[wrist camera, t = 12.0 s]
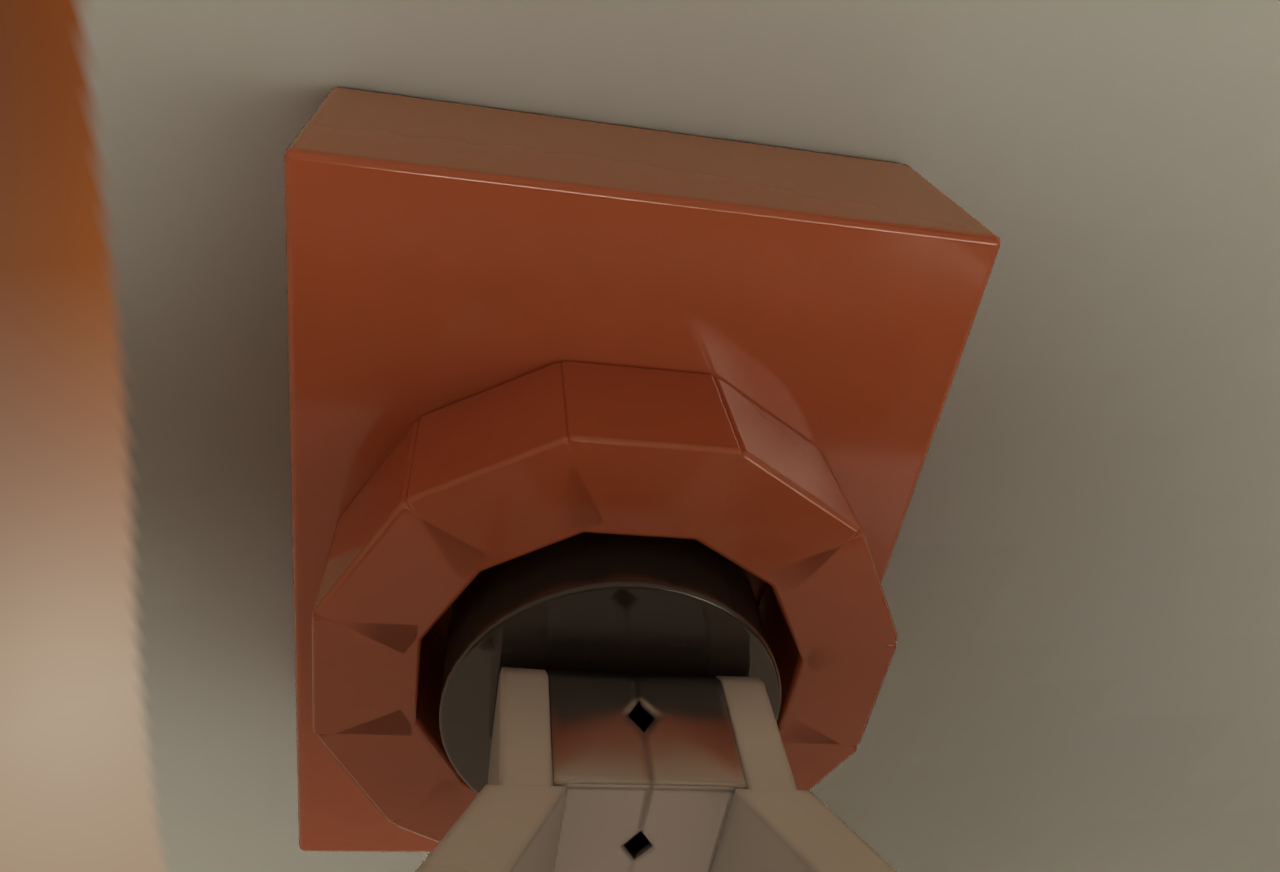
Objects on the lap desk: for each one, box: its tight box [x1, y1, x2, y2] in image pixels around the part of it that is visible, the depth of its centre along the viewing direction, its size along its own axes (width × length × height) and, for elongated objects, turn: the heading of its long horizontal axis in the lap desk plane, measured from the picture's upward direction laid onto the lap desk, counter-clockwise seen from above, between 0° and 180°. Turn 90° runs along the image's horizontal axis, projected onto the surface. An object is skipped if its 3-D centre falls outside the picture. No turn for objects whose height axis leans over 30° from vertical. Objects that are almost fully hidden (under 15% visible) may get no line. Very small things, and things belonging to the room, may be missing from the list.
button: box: [438, 532, 782, 794], centre depth 12 cm, size 4×4×2 cm
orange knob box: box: [284, 87, 1000, 852], centre depth 14 cm, size 11×8×5 cm
